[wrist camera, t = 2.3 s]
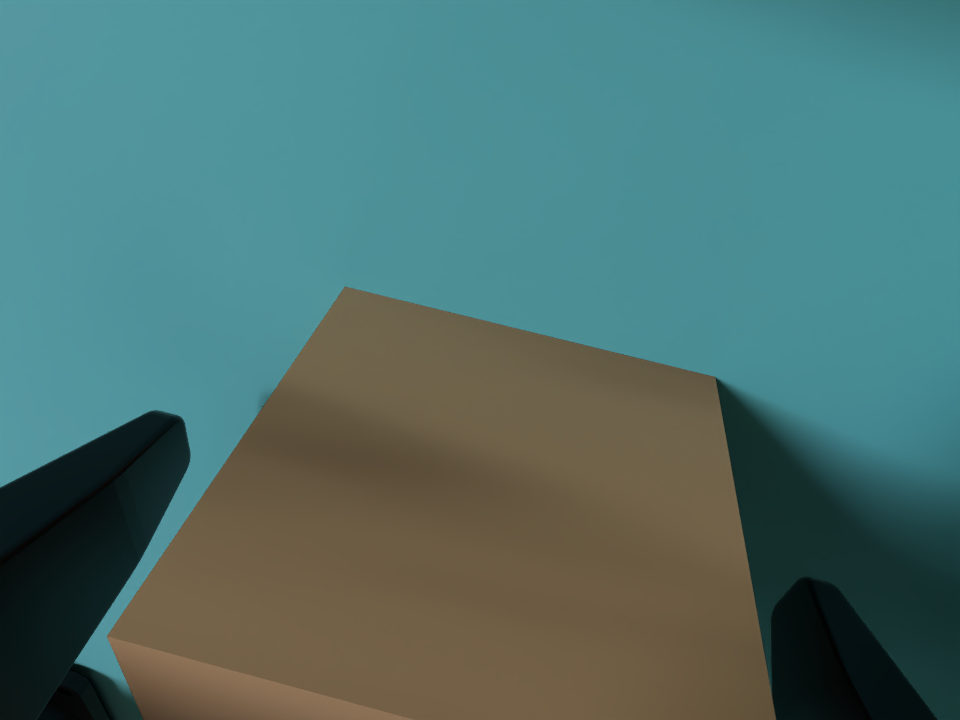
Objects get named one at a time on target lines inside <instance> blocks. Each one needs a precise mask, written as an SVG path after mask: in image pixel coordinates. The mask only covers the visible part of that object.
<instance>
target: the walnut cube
mask: <svg viewBox="0 0 960 720" xmlns="http://www.w3.org/2000/svg"><path fill="white" fill-rule="evenodd" d="M107 638H108V640H109V642H110V644H111V647H112V649H113V651H114V654H115V656H116V658H117V660H118V663H119V665H120V667H121V670H122V672H123V674H124V676H125V679H126V681H127V683H128V685H129V688H130V690H131V692H132V695H133V697H134V699H135V701H136V704H137V706H138V708H139V710H140V713H141V715H142V717H143V720H776V717H775V711H774V705H773V700H772V694H771V688H770V683H769V677H768V672H767V666H766V660H765V655H764V649H763V643H762V638H761V632H760V626H759V621H758V615H757V609H756V604H755V598H754V592H753V587H752V581H751V576H750V570H749V564H748V559H747V553H746V547H745V542H744V536H743V530H742V525H741V519H740V513H739V508H738V502H737V497H736V491H735V485H734V480H733V474H732V468H731V463H730V457H729V451H728V446H727V440H726V434H725V429H724V423H723V417H722V412H721V406H720V401H719V395H718V389H717V384H716V378H715V377H713V376H709V375H705V374H701V373H697V372H693V371H688V370H684V369H680V368H676V367H672V366H668V365H664V364H660V363H656V362H652V361H647V360H643V359H639V358H635V357H631V356H627V355H623V354H619V353H615V352H611V351H607V350H602V349H598V348H594V347H590V346H586V345H582V344H578V343H574V342H570V341H566V340H561V339H557V338H553V337H549V336H545V335H541V334H537V333H533V332H529V331H525V330H520V329H516V328H512V327H508V326H504V325H500V324H496V323H492V322H488V321H484V320H479V319H475V318H471V317H467V316H463V315H459V314H455V313H451V312H447V311H443V310H439V309H434V308H430V307H426V306H422V305H418V304H414V303H410V302H406V301H402V300H398V299H393V298H389V297H385V296H381V295H377V294H373V293H369V292H365V291H361V290H357V289H352V288H348V287H344V289H343V290H342V292H341V293H340V295H339V296H338V298H337V299H336V301H335V302H334V304H333V305H332V306H331V308H330V309H329V311H328V312H327V314H326V315H325V317H324V318H323V320H322V321H321V323H320V324H319V326H318V327H317V328H316V330H315V331H314V333H313V334H312V336H311V337H310V339H309V340H308V342H307V343H306V345H305V346H304V348H303V349H302V351H301V352H300V353H299V355H298V356H297V358H296V359H295V361H294V362H293V364H292V365H291V367H290V368H289V370H288V371H287V373H286V374H285V375H284V377H283V378H282V380H281V381H280V383H279V384H278V386H277V387H276V389H275V390H274V392H273V393H272V395H271V396H270V398H269V399H268V400H267V402H266V403H265V405H264V406H263V408H262V409H261V411H260V412H259V414H258V415H257V417H256V418H255V420H254V421H253V423H252V424H251V425H250V427H249V428H248V430H247V431H246V433H245V434H244V436H243V437H242V439H241V440H240V442H239V443H238V445H237V446H236V447H235V449H234V450H233V452H232V453H231V455H230V456H229V458H228V459H227V461H226V462H225V464H224V465H223V467H222V468H221V470H220V471H219V472H218V474H217V475H216V477H215V478H214V480H213V481H212V483H211V484H210V486H209V487H208V489H207V490H206V492H205V493H204V494H203V496H202V497H201V499H200V500H199V502H198V503H197V505H196V506H195V508H194V509H193V511H192V512H191V514H190V515H189V517H188V518H187V519H186V521H185V522H184V524H183V525H182V527H181V528H180V530H179V531H178V533H177V534H176V536H175V537H174V539H173V540H172V542H171V543H170V544H169V546H168V547H167V549H166V550H165V552H164V553H163V555H162V556H161V558H160V559H159V561H158V562H157V564H156V565H155V566H154V568H153V569H152V571H151V572H150V574H149V575H148V577H147V578H146V580H145V581H144V583H143V584H142V586H141V587H140V589H139V590H138V591H137V593H136V594H135V596H134V597H133V599H132V600H131V602H130V603H129V605H128V606H127V608H126V609H125V611H124V612H123V613H122V615H121V616H120V618H119V619H118V621H117V622H116V624H115V625H114V627H113V628H112V630H111V631H110V633H109V634H108V636H107Z"/></svg>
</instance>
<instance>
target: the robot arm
mask: <svg viewBox="0 0 960 720" xmlns="http://www.w3.org/2000/svg"><path fill="white" fill-rule="evenodd" d="M189 462H190V448H189V443H188V438H187V432H186V427H185V423H184V420H183V419H182V418H181V417H180V416H178V415H174V414H171V413H167V412H163V411H157V410H155V411H150V412H147V413H145V414H143V415H141V416H139V417H137V418H136V419H134V420H132V421H130V422H128V423H126V424H124V425H122V426H120V427H118V428H116V429H114V430H112V431H110V432H108V433H106V434H104V435H102V436H100V437H98V438H96V439H94V440H92V441H91V442H89V443H87V444H85V445H83V446H81V447H79V448H77V449H75V450H73V451H71V452H69V453H67V454H65V455H63V456H61V457H59V458H57V459H55V460H53V461H51V462H49V463H47V464H46V465H44V466H42V467H40V468H38V469H36V470H34V471H32V472H30V473H28V474H26V475H24V476H22V477H20V478H18V479H16V480H14V481H12V482H10V483H8V484H6V485H4V486H2V487H1V488H0V720H109V718H108V716H107V714H106V712H105V710H104V708H103V706H102V704H101V702H100V701H99V699H98V697H97V695H96V693H95V691H94V689H93V687H92V685H91V683H90V682H89V681H88V680H87V679H86V678H85V677H83V676H82V675H80V674H78V673H76V672H73V671H70V670H69V669H70V668H71V666H72V665H73V663H74V662H75V660H76V659H77V657H78V655H79V654H80V652H81V651H82V649H83V648H84V646H85V645H86V643H87V642H88V640H89V639H90V637H91V636H92V634H93V633H94V631H95V630H96V628H97V626H98V625H99V623H100V622H101V620H102V619H103V617H104V616H105V614H106V613H107V611H108V610H109V608H110V607H111V605H112V604H113V602H114V601H115V599H116V597H117V596H118V594H119V593H120V591H121V590H122V588H123V587H124V585H125V584H126V582H127V581H128V579H129V578H130V576H131V574H132V573H133V571H134V570H135V568H136V566H137V565H138V563H139V562H140V560H141V558H142V556H143V554H144V552H145V551H146V549H147V547H148V545H149V543H150V541H151V539H152V537H153V535H154V533H155V531H156V529H157V527H158V525H159V524H160V522H161V520H162V518H163V516H164V514H165V512H166V510H167V508H168V506H169V504H170V502H171V500H172V498H173V496H174V494H175V492H176V490H177V488H178V486H179V484H180V482H181V480H182V478H183V477H184V475H185V473H186V471H187V468H188V466H189ZM771 668H772V700H773V705H774V711H775V717H776V720H937V718H936V717H935V716H934V714H933V713H932V712H931V710H930V709H929V708H928V706H927V705H926V704H925V702H924V701H923V700H922V698H921V697H920V696H919V695H918V693H917V692H916V691H915V689H914V688H913V687H912V685H911V684H910V683H909V681H908V680H907V679H906V677H905V676H904V675H903V673H902V672H901V671H900V669H899V668H898V667H897V665H896V664H895V663H894V662H893V660H892V659H891V658H890V656H889V655H888V654H887V652H886V651H885V650H884V648H883V647H882V646H881V644H880V643H879V642H878V640H877V639H876V638H875V636H874V635H873V634H872V632H871V631H870V630H869V628H868V627H867V626H866V625H865V623H864V622H863V621H862V619H861V618H860V617H859V615H858V614H857V613H856V611H855V610H854V609H853V607H852V606H851V605H850V603H849V602H848V601H847V599H846V598H845V597H844V595H843V594H842V593H841V592H840V590H839V589H838V588H837V587H836V586H835V585H833V584H831V583H829V582H826V581H822V580H818V579H814V578H810V577H802V578H799V579H798V580H797V581H796V582H795V583H794V584H793V586H792V587H791V588H790V589H789V590H788V591H787V592H786V593H785V595H784V596H783V597H782V598H781V599H780V600H779V601H778V603H777V604H776V605H775V607H774V609H773V612H772V616H771Z"/></svg>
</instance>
